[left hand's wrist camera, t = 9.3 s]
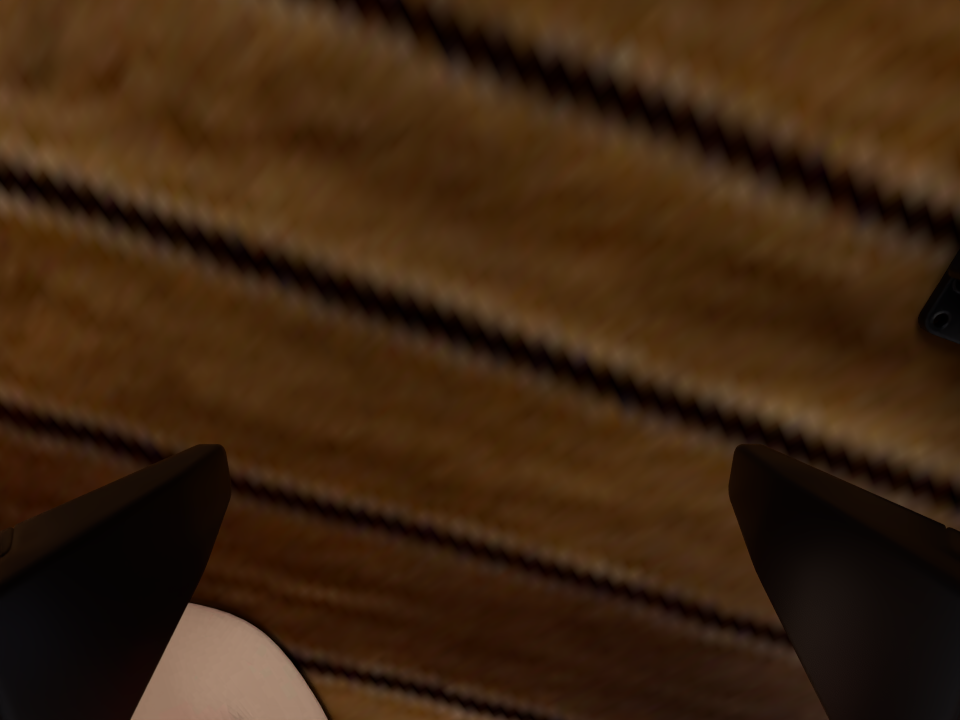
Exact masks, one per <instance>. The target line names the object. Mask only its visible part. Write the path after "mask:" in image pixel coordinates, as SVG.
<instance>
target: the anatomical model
mask: <svg viewBox="0 0 960 720" xmlns="http://www.w3.org/2000/svg"><path fill="white" fill-rule="evenodd" d="M131 720H328V719H327V717H326V715H325V713H324V711H323V710H322V708H321V706H320V704H319V702H318V700H317V699H316V697H315V696H314V694H313V693H312V691H311V689H310V688H309V686H308V685H307V683H306V682H305V680H304V679H303V677H302V676H301V674H300V673H299V672H298V670H297V669H296V667H295V666H294V665H293V663H292V662H291V661H290V660H289V658H288V657H287V656H286V655H285V654H284V652H283V651H282V650H281V649H280V648H279V647H278V646H277V645H276V644H275V643H274V642H273V641H272V640H271V639H270V638H269V637H268V636H267V635H266V634H265V633H263V632H262V631H261V630H259V629H258V628H256V627H255V626H253V625H252V624H250V623H248V622H247V621H245V620H243V619H241V618H239V617H237V616H234V615H232V614H230V613H227V612H224V611H221V610H218V609H214V608H210V607H206V606H202V605H198V604H193V603H188V605H187V607H186V609H185V611H184V613H183V615H182V617H181V619H180V621H179V623H178V625H177V627H176V629H175V631H174V633H173V635H172V637H171V639H170V641H169V643H168V645H167V647H166V649H165V651H164V654H163V656H162V658H161V660H160V662H159V664H158V666H157V668H156V670H155V672H154V674H153V676H152V678H151V680H150V682H149V684H148V686H147V688H146V690H145V692H144V694H143V696H142V698H141V700H140V702H139V704H138V706H137V708H136V710H135V712H134V714H133V716H132V718H131Z"/></svg>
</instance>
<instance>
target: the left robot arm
mask: <svg viewBox="0 0 960 720" xmlns="http://www.w3.org/2000/svg"><path fill="white" fill-rule="evenodd" d="M939 314H941V315H942V316H941V318H940V320H939V321H938V322H937V323H935V324H934V323H933V321H934V318H935V317H936V316H937V315H939ZM918 323H919V325H920V327H921V328H922V329H924V330H925V331H927V332H929V333H931V334H934V335H936V336H939V337H942V338H945V339H947V340H950V341H953V342H956V343H958V344H960V250H959V251H958V253H957V254H956V256H955V258H954V259H953V261H952V262H951V264H950V265H949V268H948V269H947V271H946V272H945V274H944V276H943V277H942V279H941V280H940V282H939V284H938V285H937V287H936V288H935V290H934V292H933V293H932V295H931V296H930V298H929V300H928V301H927V303H926V304H925V306H924V307H923V309H922V311H921V312H920V315H919V317H918ZM230 497H231V480H230V474H229V468H228V462H227V456H226V451H225V449H224V447H223V446H222V445H219V444H199V445H196V446H193V447H191V448H189V449H187V450H184V451H182V452H180V453H178V454H175V455H173V456H171V457H169V458H166V459H164V460H162V461H159V462H157V463H155V464H153V465H150V466H148V467H146V468H144V469H141V470H139V471H137V472H134V473H132V474H130V475H128V476H125V477H123V478H121V479H119V480H116V481H114V482H112V483H110V484H107V485H105V486H103V487H100V488H98V489H96V490H94V491H91V492H89V493H87V494H85V495H82V496H80V497H78V498H76V499H73V500H71V501H69V502H66V503H64V504H62V505H60V506H57V507H55V508H53V509H51V510H48V511H46V512H44V513H41V514H39V515H37V516H35V517H32V518H30V519H28V520H26V521H23V522H21V523H19V524H17V525H15V527H14V528H12V527H10V528H7V529H5V530H3V531H0V720H131V718H132V716H133V714H134V712H135V710H136V708H137V706H138V704H139V702H140V700H141V698H142V696H143V694H144V692H145V690H146V688H147V686H148V684H149V682H150V680H151V678H152V676H153V674H154V672H155V670H156V668H157V666H158V664H159V662H160V660H161V658H162V656H163V654H164V651H165V649H166V647H167V645H168V643H169V641H170V639H171V637H172V635H173V633H174V631H175V629H176V627H177V625H178V623H179V621H180V619H181V617H182V615H183V613H184V611H185V609H186V607H187V605H188V603H189V601H190V599H191V597H192V595H193V593H194V591H195V589H196V587H197V585H198V583H199V581H200V579H201V577H202V574H203V572H204V570H205V567H206V565H207V562H208V560H209V557H210V554H211V551H212V549H213V546H214V543H215V540H216V537H217V535H218V532H219V529H220V526H221V523H222V520H223V518H224V515H225V512H226V509H227V506H228V503H229V501H230ZM729 497H730V501H731V503H732V506H733V509H734V512H735V515H736V518H737V520H738V523H739V526H740V529H741V532H742V535H743V537H744V540H745V543H746V546H747V549H748V551H749V554H750V557H751V560H752V562H753V565H754V567H755V570H756V572H757V574H758V577H759V579H760V581H761V583H762V585H763V587H764V589H765V591H766V593H767V595H768V597H769V599H770V601H771V603H772V605H773V607H774V609H775V611H776V613H777V615H778V617H779V619H780V621H781V623H782V625H783V627H784V629H785V631H786V633H787V635H788V637H789V639H790V641H791V643H792V645H793V647H794V650H795V652H796V654H797V656H798V658H799V660H800V662H801V664H802V666H803V668H804V670H805V672H806V674H807V676H808V678H809V680H810V682H811V684H812V686H813V688H814V690H815V692H816V694H817V696H818V698H819V700H820V702H821V704H822V706H823V708H824V710H825V712H826V714H827V716H828V718H829V720H960V531H957V530H955V529H953V528H950V527H948V528H946V527H945V525H943V524H941V523H939V522H937V521H934V520H932V519H930V518H928V517H925V516H923V515H921V514H919V513H916V512H914V511H912V510H909V509H907V508H905V507H903V506H900V505H898V504H896V503H894V502H891V501H889V500H887V499H884V498H882V497H880V496H878V495H875V494H873V493H871V492H869V491H866V490H864V489H862V488H860V487H857V486H855V485H853V484H850V483H848V482H846V481H844V480H841V479H839V478H837V477H835V476H832V475H830V474H828V473H825V472H823V471H821V470H819V469H816V468H814V467H812V466H810V465H807V464H805V463H803V462H801V461H798V460H796V459H794V458H791V457H789V456H787V455H785V454H782V453H780V452H778V451H776V450H773V449H771V448H769V447H767V446H764V445H761V444H741V445H738V446H737V447H736V449H735V451H734V456H733V462H732V468H731V474H730V480H729Z"/></svg>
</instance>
